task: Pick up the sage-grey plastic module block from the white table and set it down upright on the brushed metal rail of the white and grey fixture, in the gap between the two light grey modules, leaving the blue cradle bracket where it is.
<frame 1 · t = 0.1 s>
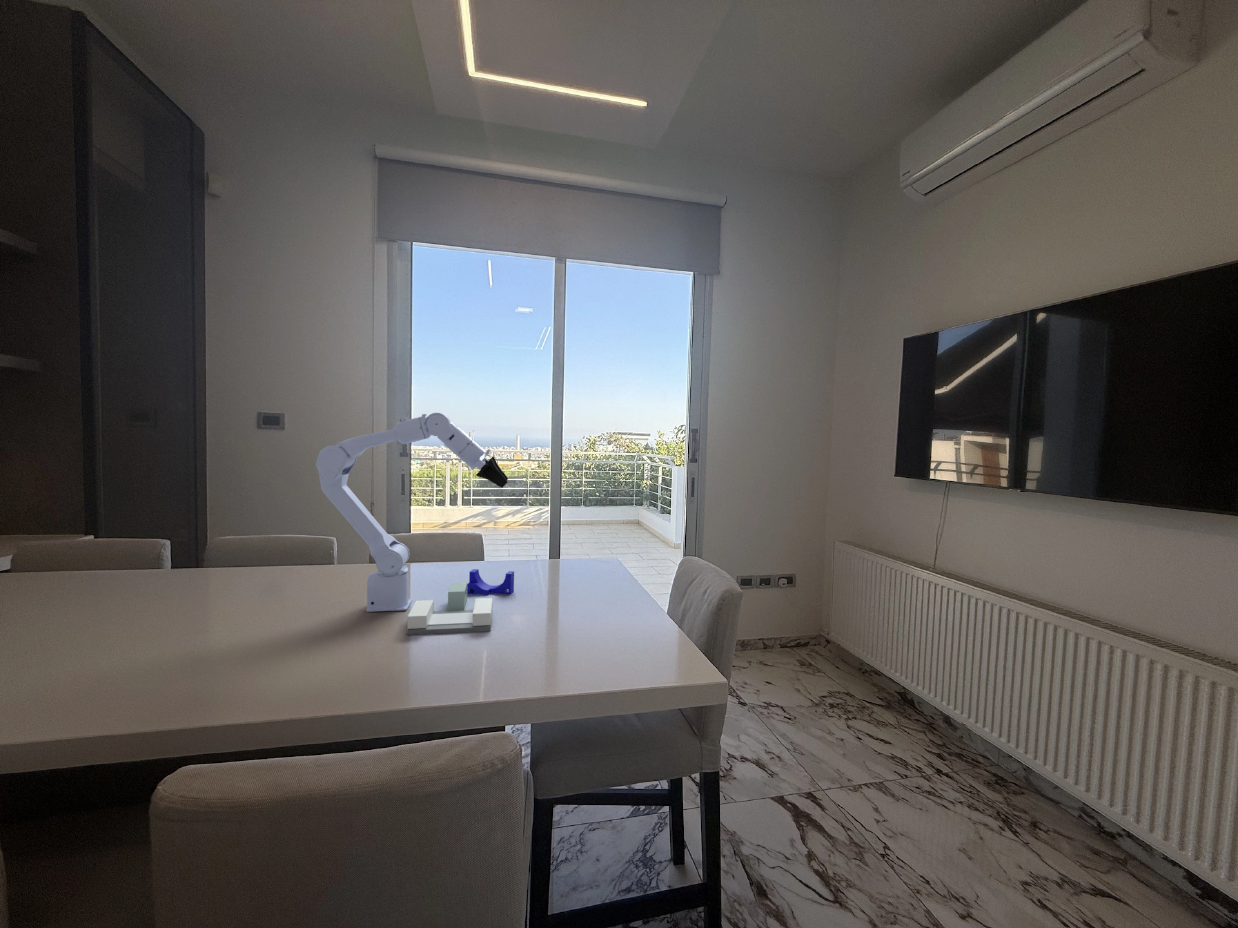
hand: (505, 483, 138), 32 cm above the table, tool tilted 50°, fingers open, 7 cm apart
blue cradle bracket: (490, 593, 148), on the table
module block: (457, 605, 136), on the table
white and grey fixture: (452, 623, 124), on the table
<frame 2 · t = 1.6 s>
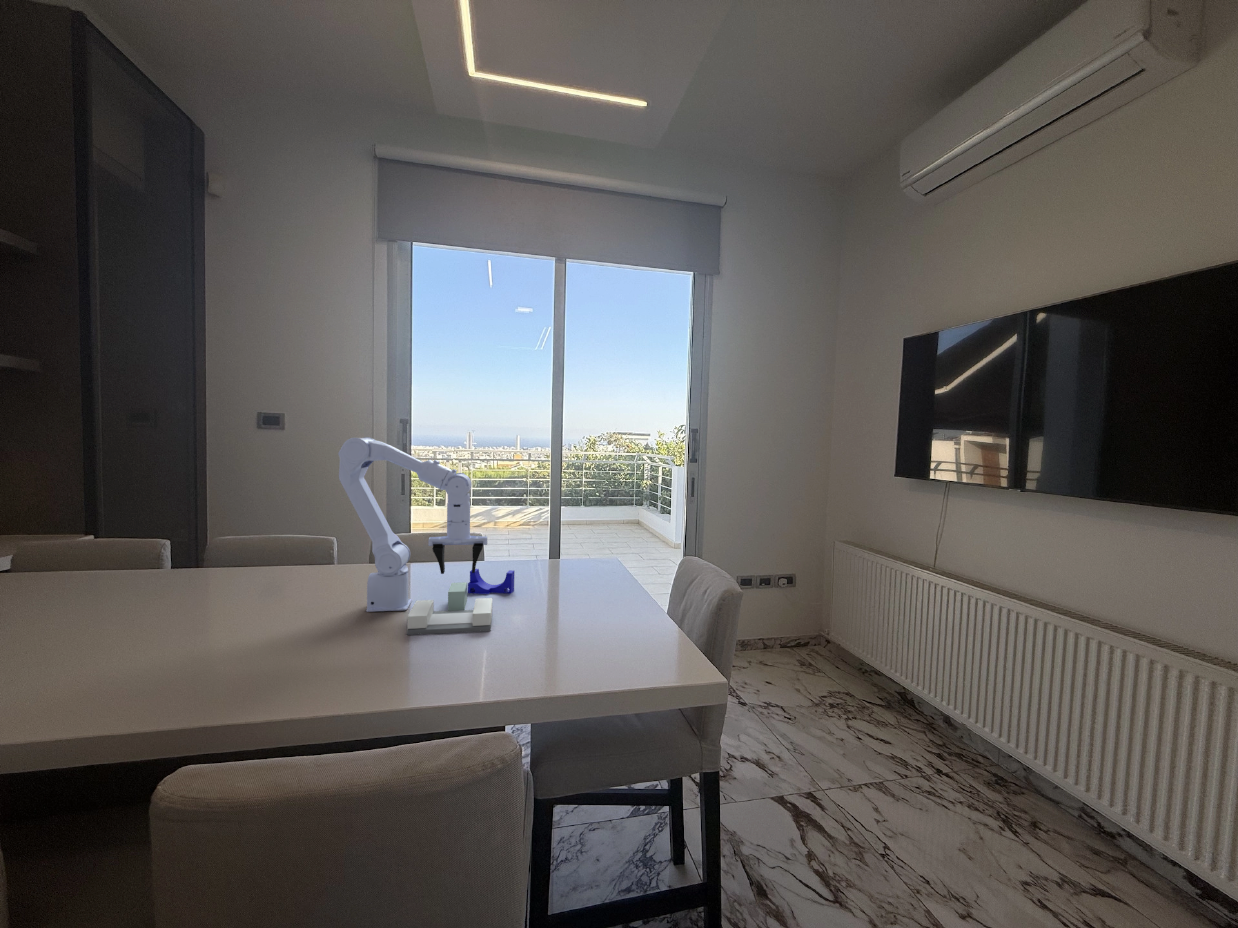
hand: (458, 572, 136), 9 cm above the table, tool pointing down, fingers open, 7 cm apart
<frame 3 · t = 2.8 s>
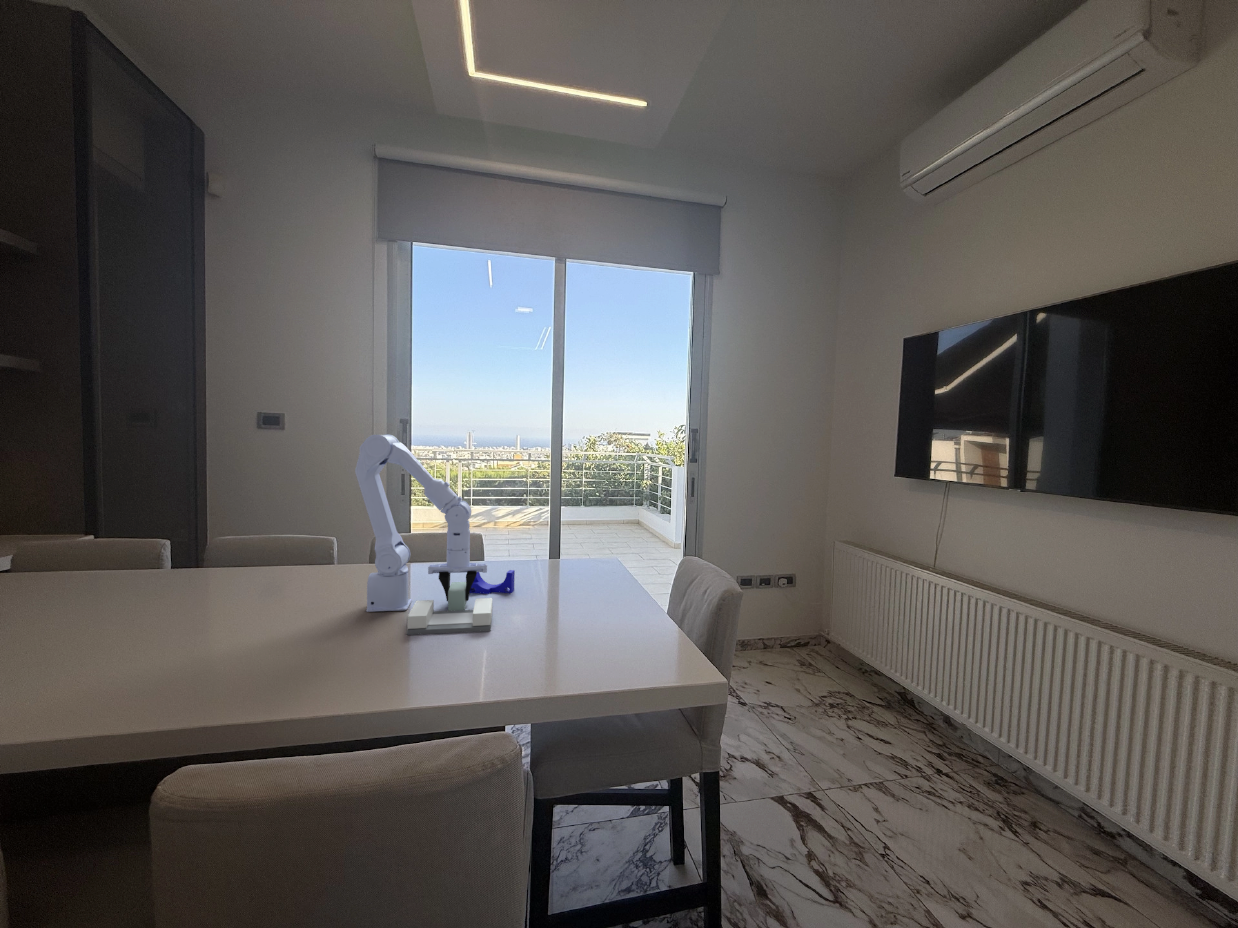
hand: (457, 599, 136), 1 cm above the table, tool pointing down, fingers closed on module block, 4 cm apart
module block: (457, 605, 136), on the table, touching gripper
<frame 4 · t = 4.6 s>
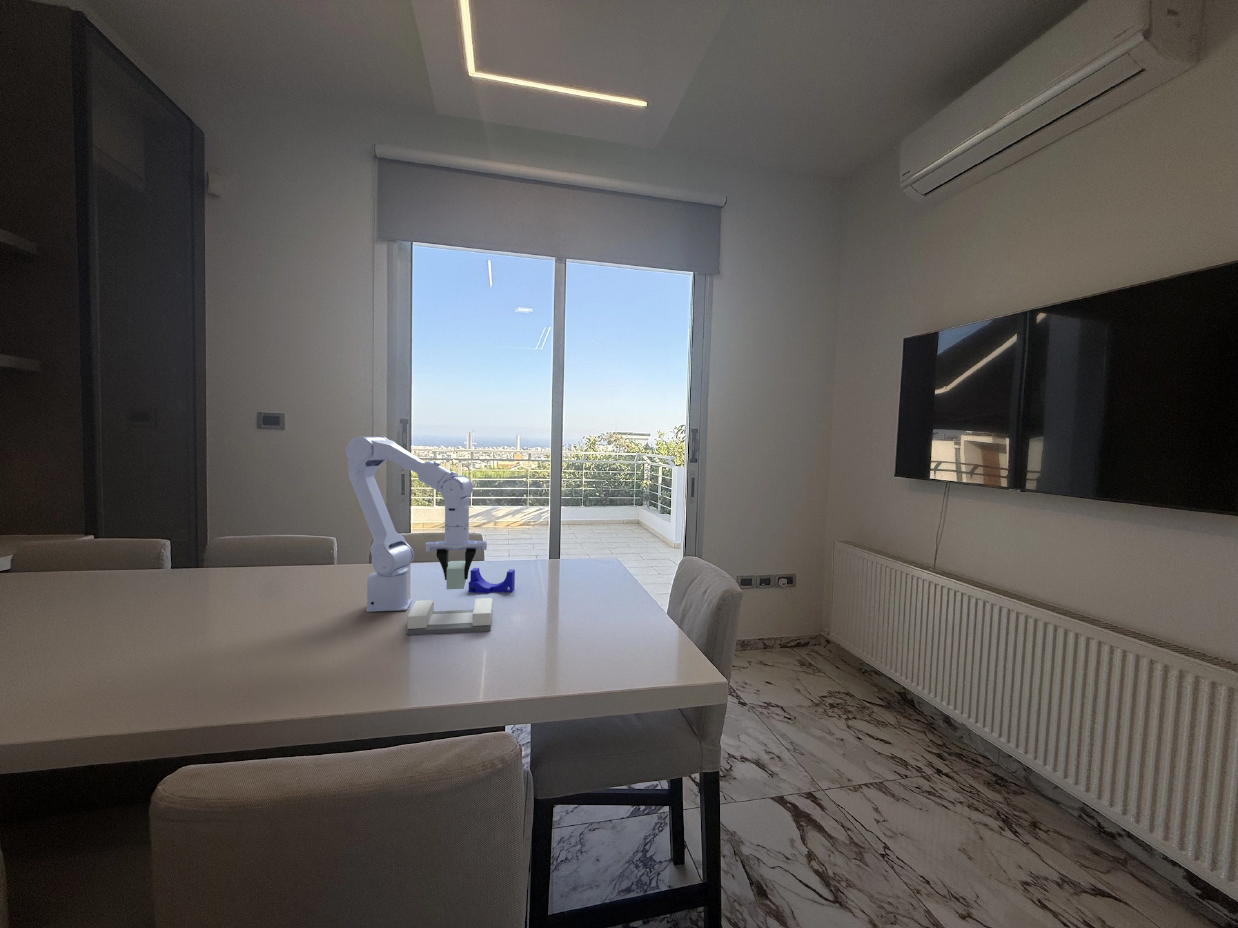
hand: (456, 578, 131), 8 cm above the table, tool pointing down, fingers closed on module block, 4 cm apart
module block: (456, 584, 131), point 7 cm above the table, touching gripper
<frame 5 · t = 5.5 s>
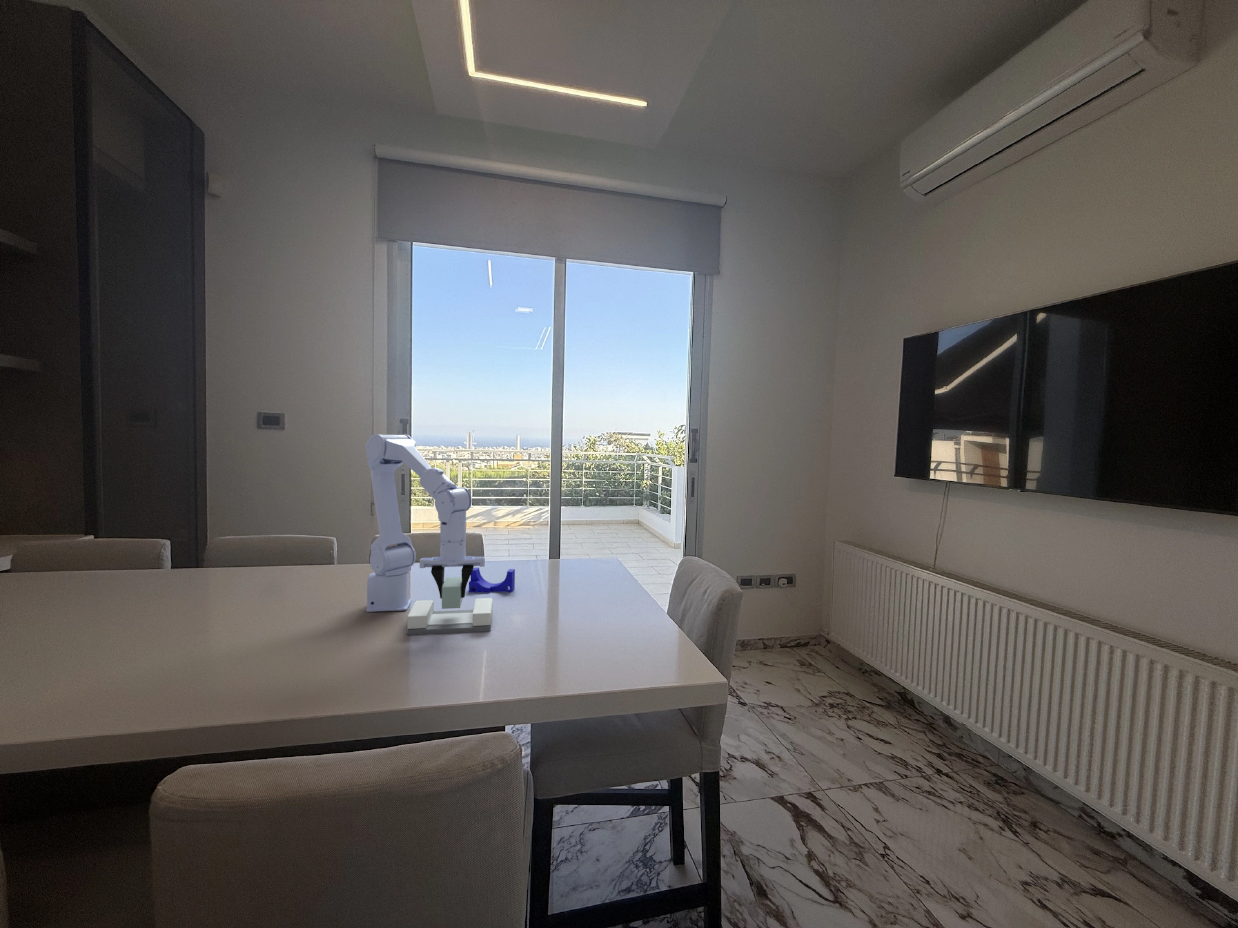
hand: (452, 596, 123), 6 cm above the table, tool pointing down, fingers closed on module block, 4 cm apart
module block: (452, 602, 124), point 5 cm above the table, touching gripper
when the fingers open (4 cm above the table, at t = 6.2 s): module block drops 2 cm, resting on white and grey fixture.
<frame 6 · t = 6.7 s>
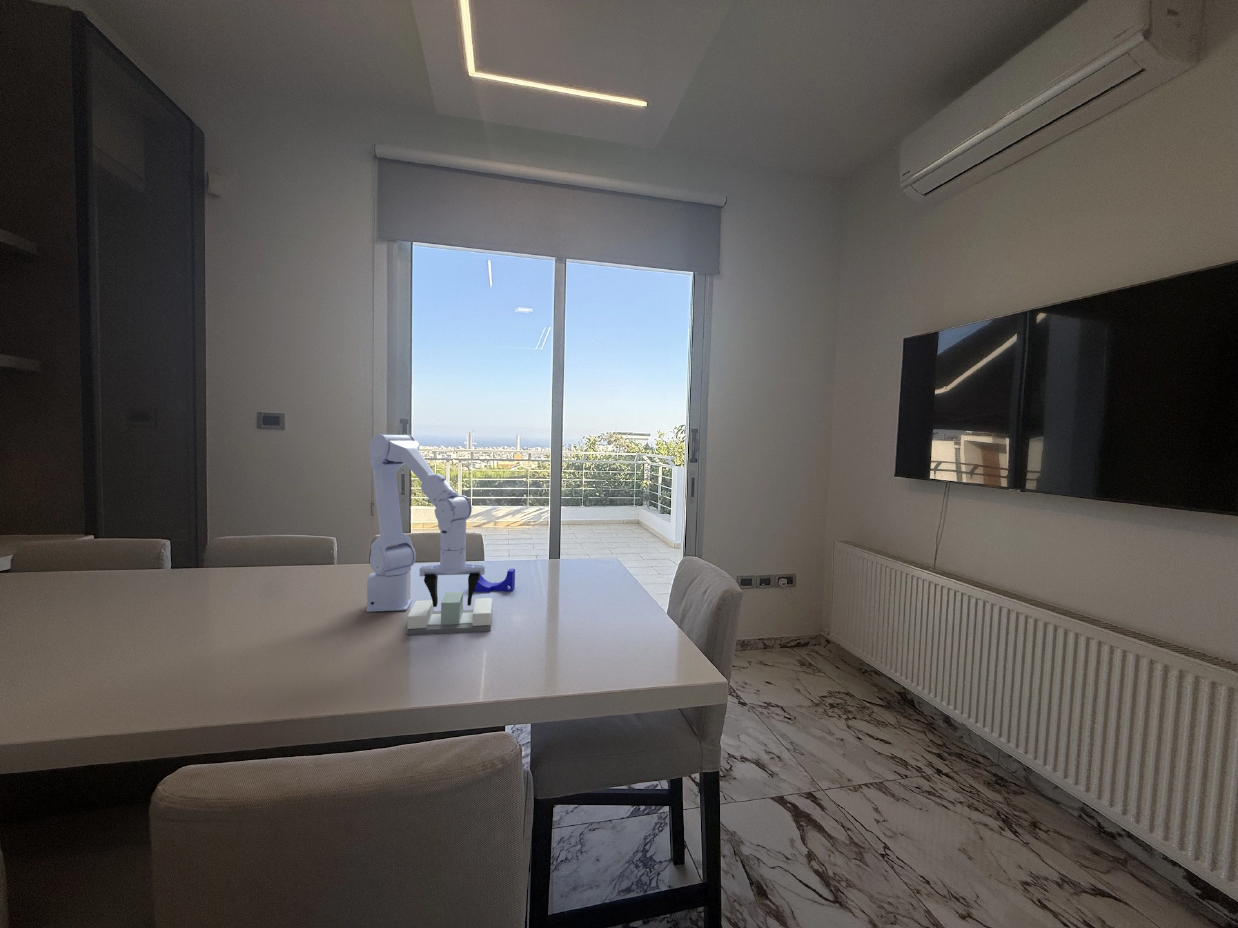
hand: (452, 604, 123), 4 cm above the table, tool pointing down, fingers open, 7 cm apart
module block: (452, 617, 124), point 1 cm above the table, touching white and grey fixture
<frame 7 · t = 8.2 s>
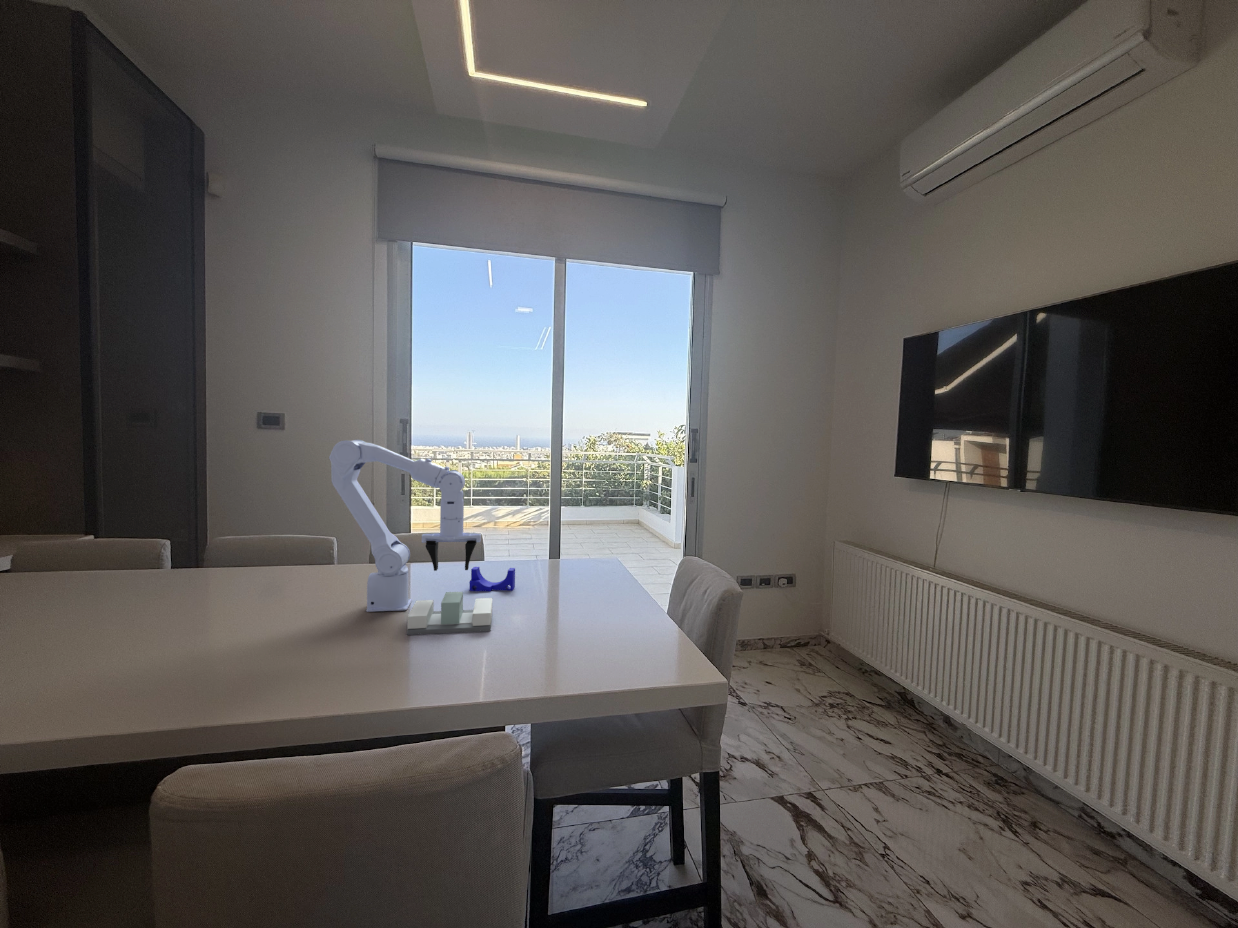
hand: (451, 569, 136), 9 cm above the table, tool pointing down, fingers open, 7 cm apart
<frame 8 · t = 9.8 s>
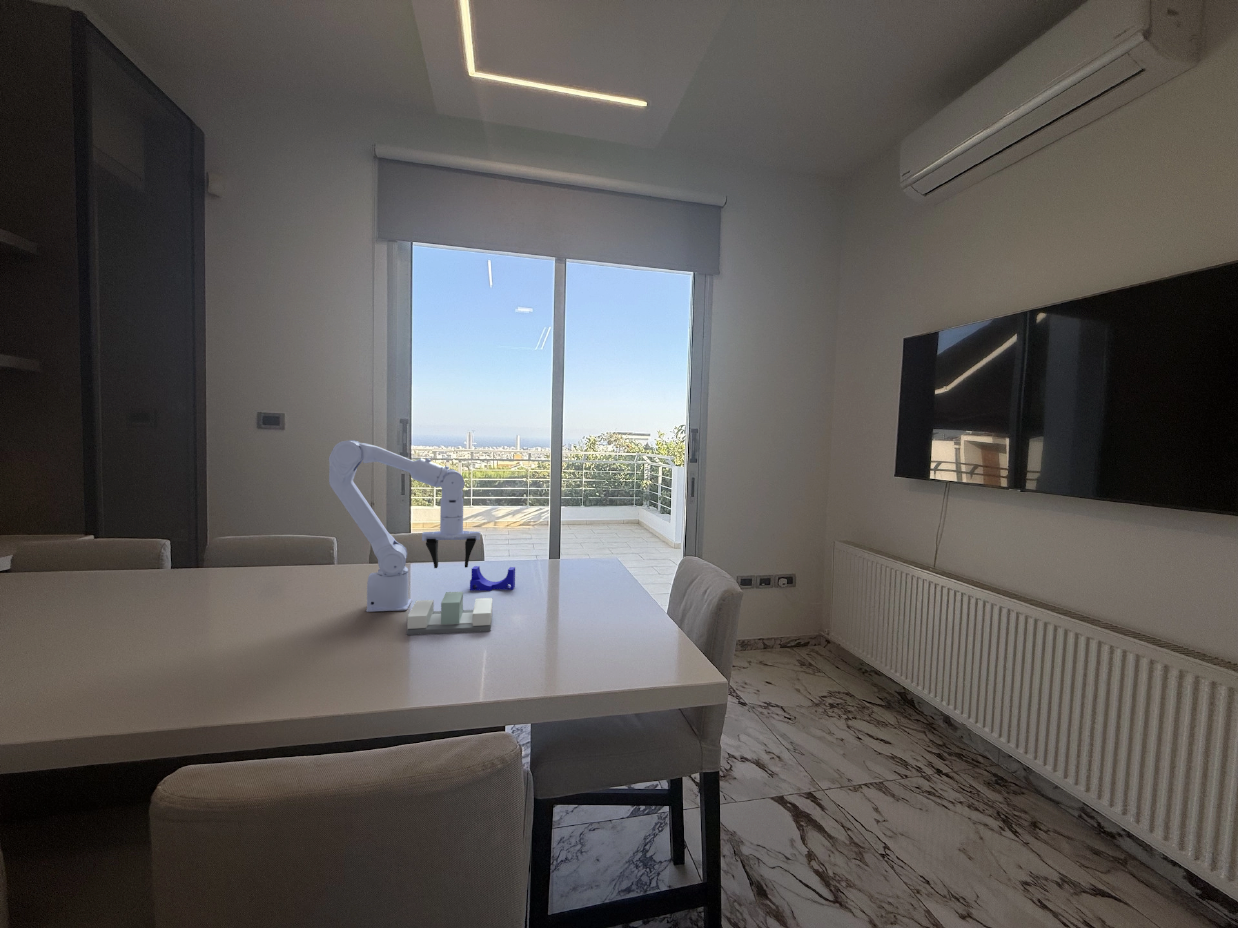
hand: (451, 566, 138), 9 cm above the table, tool pointing down, fingers open, 7 cm apart
at the end: module block 0.3 cm off-centre on the white and grey fixture, point 1.2 cm above the white and grey fixture's base; module block tilted 0°; the gripper is holding nothing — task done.
